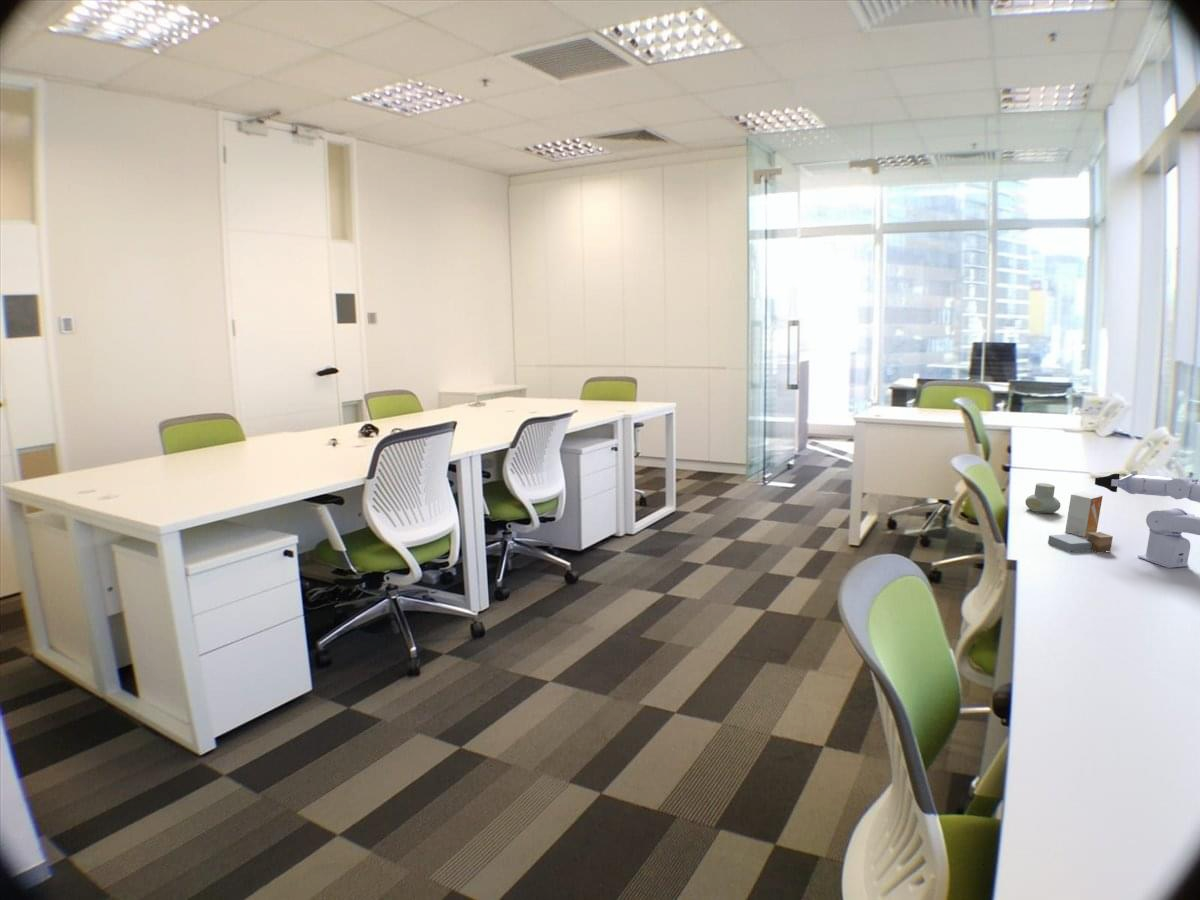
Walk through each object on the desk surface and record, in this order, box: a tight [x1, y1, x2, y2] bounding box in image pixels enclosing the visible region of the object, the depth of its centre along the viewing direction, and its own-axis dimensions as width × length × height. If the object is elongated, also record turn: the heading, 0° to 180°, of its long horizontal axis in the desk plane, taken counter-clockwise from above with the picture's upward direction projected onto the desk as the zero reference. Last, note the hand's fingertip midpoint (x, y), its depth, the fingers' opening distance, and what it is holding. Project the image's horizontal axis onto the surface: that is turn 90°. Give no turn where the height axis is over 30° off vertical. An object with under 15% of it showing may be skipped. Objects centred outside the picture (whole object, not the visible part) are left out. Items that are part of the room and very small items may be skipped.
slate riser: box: [1047, 533, 1092, 553], centre depth 226 cm, size 8×8×3 cm
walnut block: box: [1086, 531, 1113, 553], centre depth 223 cm, size 4×4×5 cm
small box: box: [1064, 491, 1103, 538], centre depth 239 cm, size 8×6×13 cm
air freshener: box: [1025, 482, 1061, 514], centre depth 264 cm, size 11×8×10 cm
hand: (1104, 481), depth 229 cm, fingers open, 7 cm apart
